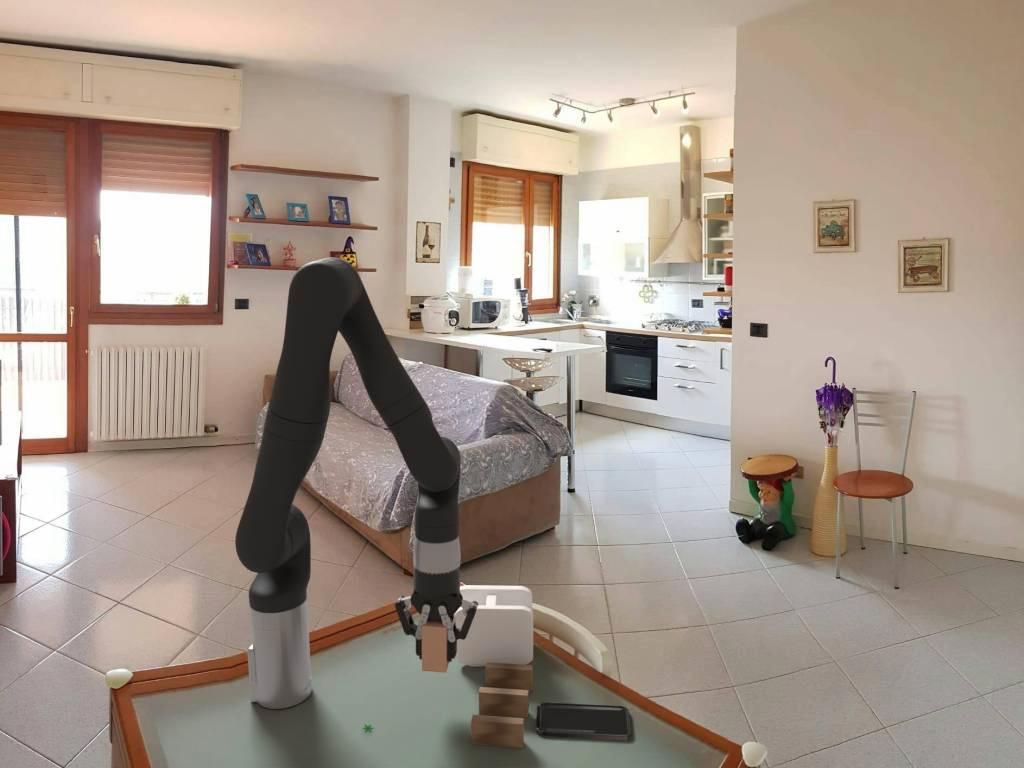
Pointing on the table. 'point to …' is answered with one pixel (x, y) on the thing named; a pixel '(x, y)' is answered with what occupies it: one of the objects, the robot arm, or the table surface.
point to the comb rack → (502, 705)
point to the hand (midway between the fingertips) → (436, 657)
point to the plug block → (434, 647)
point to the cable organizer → (497, 626)
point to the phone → (583, 721)
